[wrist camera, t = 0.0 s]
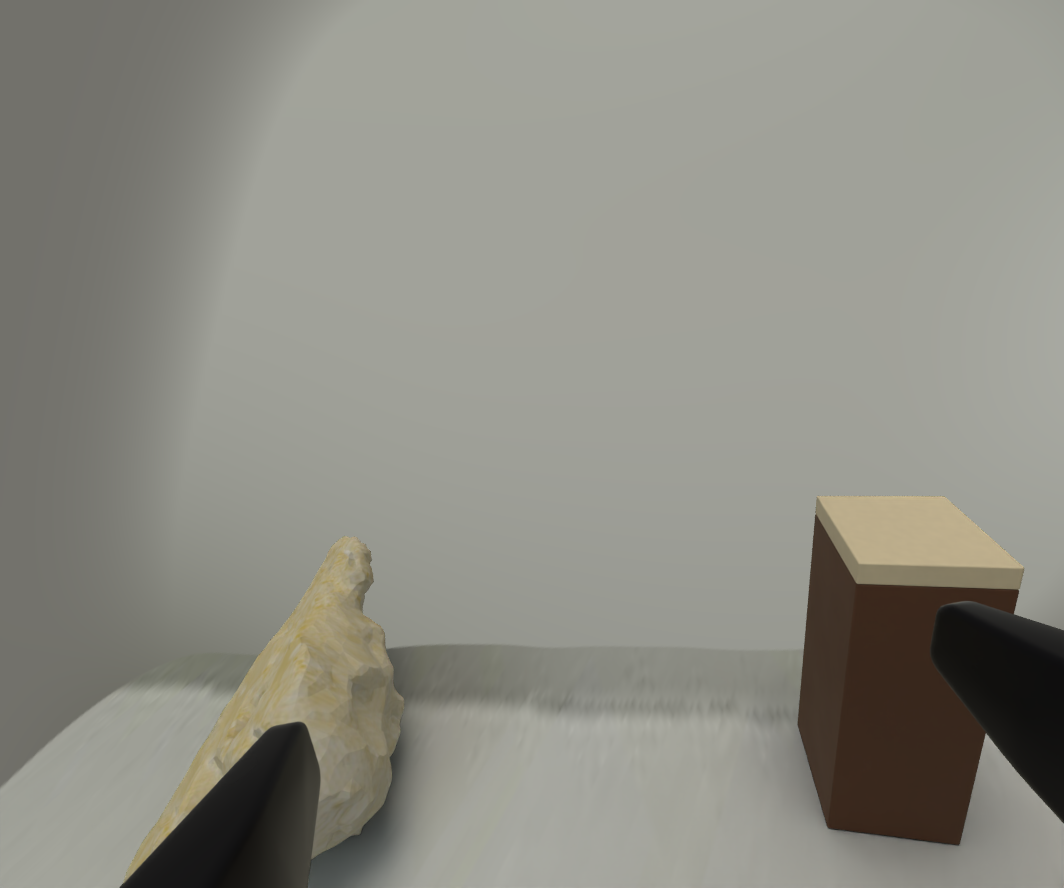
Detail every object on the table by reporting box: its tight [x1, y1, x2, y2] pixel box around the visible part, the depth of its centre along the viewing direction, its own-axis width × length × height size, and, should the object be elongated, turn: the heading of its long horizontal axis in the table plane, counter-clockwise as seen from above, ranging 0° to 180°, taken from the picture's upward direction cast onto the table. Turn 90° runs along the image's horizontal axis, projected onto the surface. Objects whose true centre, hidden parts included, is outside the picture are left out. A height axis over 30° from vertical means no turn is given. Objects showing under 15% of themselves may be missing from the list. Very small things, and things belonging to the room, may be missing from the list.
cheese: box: [123, 536, 404, 883], centre depth 25 cm, size 15×7×15 cm
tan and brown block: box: [798, 496, 1024, 845], centre depth 21 cm, size 5×4×12 cm
